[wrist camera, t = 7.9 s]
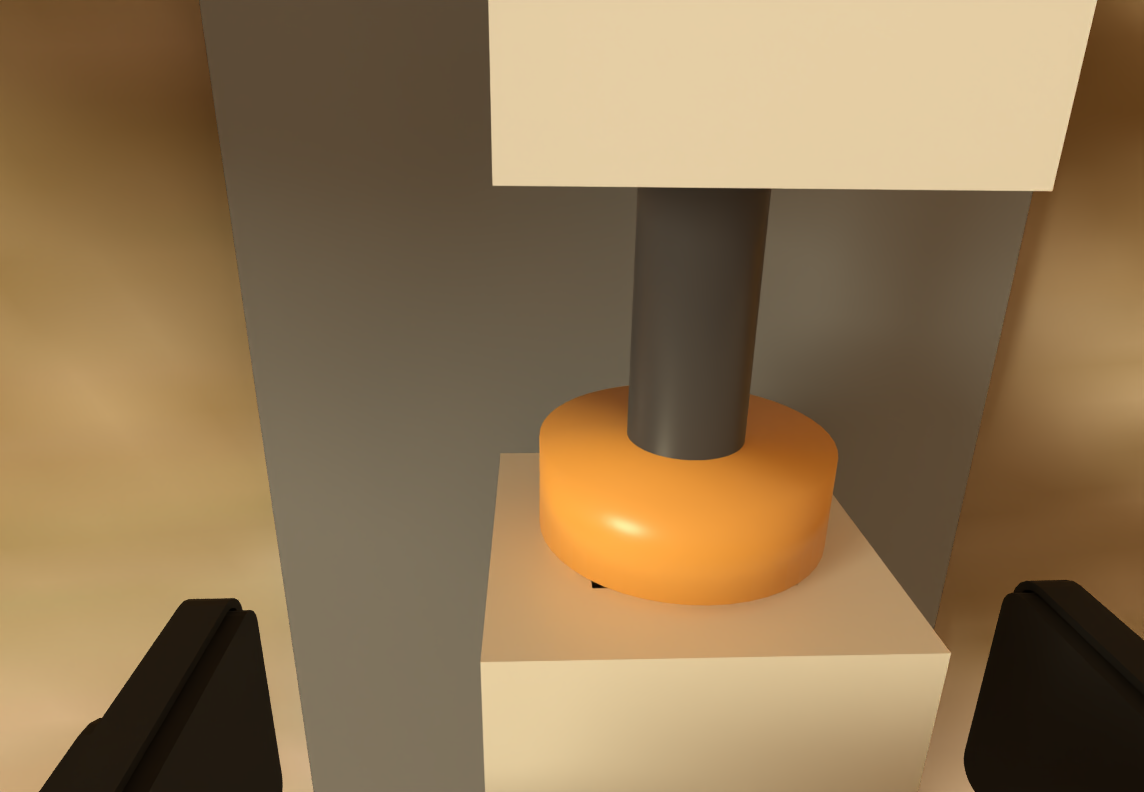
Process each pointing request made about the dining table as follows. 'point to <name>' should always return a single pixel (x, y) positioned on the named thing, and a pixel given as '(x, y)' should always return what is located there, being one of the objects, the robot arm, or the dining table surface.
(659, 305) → the board
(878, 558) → the sleeve
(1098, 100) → the dining table surface
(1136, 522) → the dining table surface
